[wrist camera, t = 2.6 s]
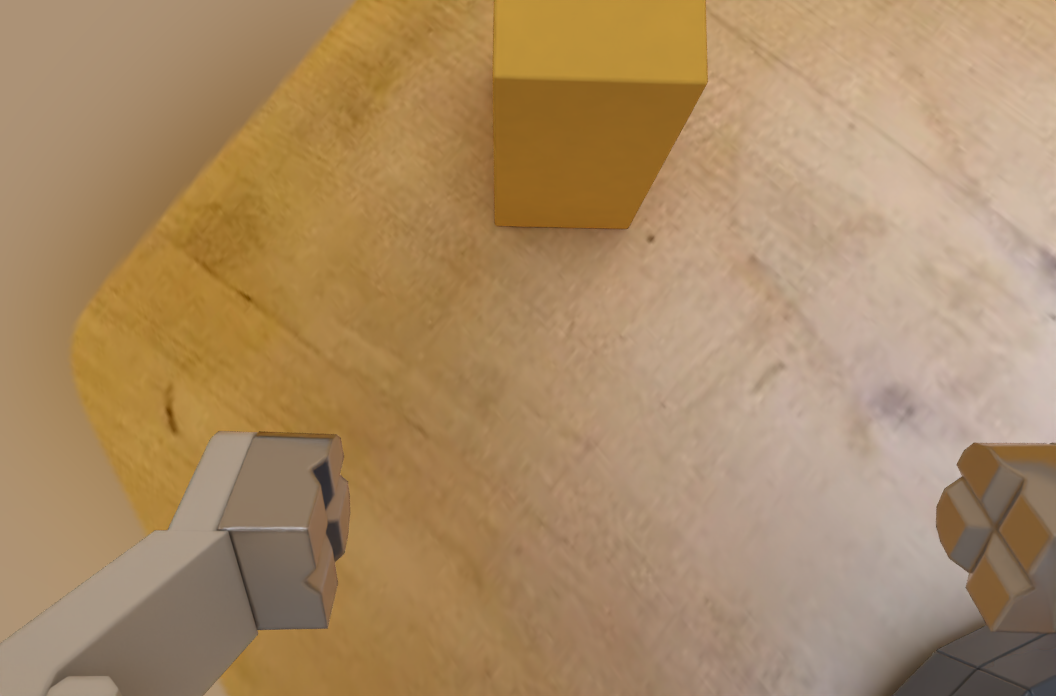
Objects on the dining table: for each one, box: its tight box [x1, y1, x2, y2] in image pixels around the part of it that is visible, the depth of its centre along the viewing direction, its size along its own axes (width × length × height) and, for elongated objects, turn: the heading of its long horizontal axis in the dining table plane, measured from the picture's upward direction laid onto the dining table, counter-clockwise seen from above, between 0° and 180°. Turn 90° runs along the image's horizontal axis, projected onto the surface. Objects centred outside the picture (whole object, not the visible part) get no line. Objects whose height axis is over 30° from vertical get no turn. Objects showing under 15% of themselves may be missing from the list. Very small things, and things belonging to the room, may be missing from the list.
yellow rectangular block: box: [493, 0, 708, 229], centre depth 21 cm, size 4×6×10 cm
